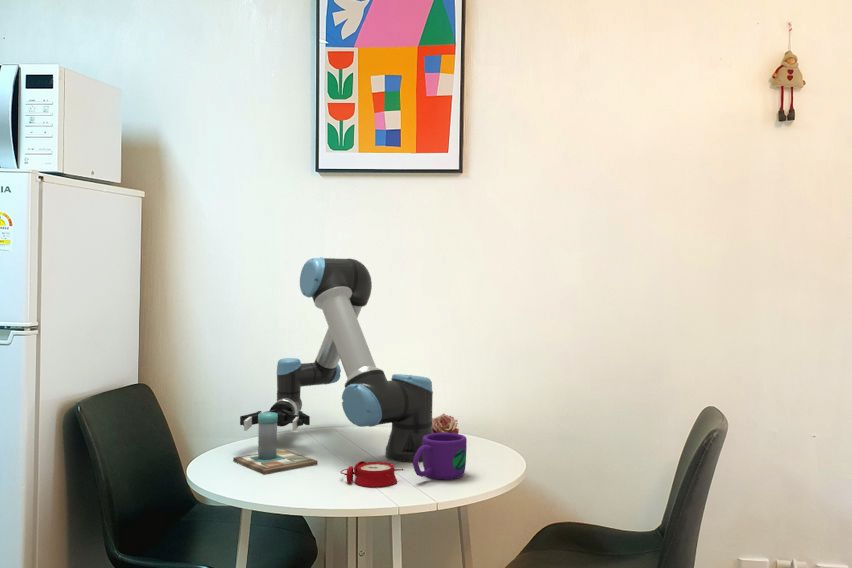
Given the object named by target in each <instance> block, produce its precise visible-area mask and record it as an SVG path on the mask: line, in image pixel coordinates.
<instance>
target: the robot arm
mask: <svg viewBox="0 0 852 568" xmlns="http://www.w3.org/2000/svg"><path fill="white" fill-rule="evenodd" d="M300 271H301V272H300V275H299V290H300V291H301V293H302V295H303V296H304V297H307V298H312V301H313V303H314V306H315V307H316V308H317V309H319V310H322V313H323V316H324V319H325V321H326V324H327V326H328V328H327V330H326V332H325V335H324V338H323V340H322V342H321V345H320V348H319V350H318V353H317V355H316V357H315V360H314V362H307V363H305V362H303V363H302V362H301V359H299V358H298V357H297V358H296V357H294V358H293V357H286V358H280V359H279V360H277V365H276V402H275V403H273V405H272V406H271V407H270V409H269V410H268V411H266V412H275V413H278V421H277V427H282V428H283V427H285V426H288V425H289V424H292V431H293V432H294V431H295V432H296V431H297V430H298V428H299V427H301V426H304V425H306V426H310V425H311V424H310V423H311V421H310V420H311V419H310V418H311V416H310V415H308V414H306V413H304V412H303V411H302V407H303V402H302V399H301V388H302V387H312V386H319V385H321V386H322V385H330V384H334V383H337V382H338V381H340V378H341V372H342V369H341V366H340V364H339V362H341V364H342V367H343V369H344V372H345V376H346V378H347V379H346V380H345V383H344V390H343V392H342V395H341V400H342V401H341V407H342V409H343V412H344V415H345V416H346V418H347V419H348V421H349V422H350V423H352V425H355V426H357V427H362V428H363V427H364V428H365V427H369V428H370V427H375V426H380V425H385V424H391V431H390V433H389V437H388V441H387V445H386V446H385V458H387V459H389V460H393V461H397V462H408V463H409V462H412V463H413V459H414V456H415V454H416V452H417V450H418V449H419V448H420V447H421V446H422V445H423V437H424V436H425V435H428V434H432V433H433V430H432V418H433V394H434V391H433V381H432V380H431V379H430V378H429V377H425V376H420V375H412V374H403V373H402V374H401V373H400V374H399V373H397V374H396V373H395V374H392V376H391V380H388V379H387V377H386V374H385V371H384V370H383V369H381V368H378V367H377V366H376V363H375V361H374V358H373V355H372V353H371V351H370V348H369V345H368V343H367V340H366V338H365V336H364V335H365V334H364V333H363V330H362V327H361V325H360V323H359V320H358V318H359V315H360V313H361V311H362V308H364V307H365V306H367V304H368V302H369V300H370V297H371V295H372V289H373V288H372V287H373V286H372V277H371V274H370V272H369V269H368V268H367V267H366V266H365V265H364V264H363V262H361V261H359V260H357V259H354V258H335V257H334V258H331V257H329V258H328V257H321V256H320V257H312V258H309V259H307V261H306V262H305V263H304V265H303V266H302V268H301V270H300ZM259 413H263V412H262V410H258V411H256V412H252V413H249V414H245V415H240V416H239V425H240V426H243V430H244V431H248V430H249V429H250V428H251V427H253V426H254V425H259V422H258V414H259ZM244 431H243V432H244ZM419 462H423V452H422V454H421V456H420V459H419Z"/></svg>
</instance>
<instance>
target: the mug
mask: <svg viewBox="0 0 852 568" xmlns="http://www.w3.org/2000/svg"><path fill="white" fill-rule="evenodd" d="M467 448H468V447H467V437H466V436H465V435H463V434H460V433H458V434H456V433H432V434H428V435H425V436H424V437H423V445H422V446H421V447H420V448H419V449H418V450H417V452H416V454H415V456H414V459H413V462H412V465H413V470H414V472H415V474H416V475H417V476H419V477H428V478H430V479H433V480H440V481H443V480H444V481H449V480H450V481H451V480H457V479H459V478H461V477H462V476H463V475H464V474H465V472H466V471H465V469H466V466H467ZM422 452H423V461H422V465H423V470H421V467H420V466H419V465H420V464H419V462H420V461H419V459H420V456H421V454H422Z"/></svg>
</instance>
